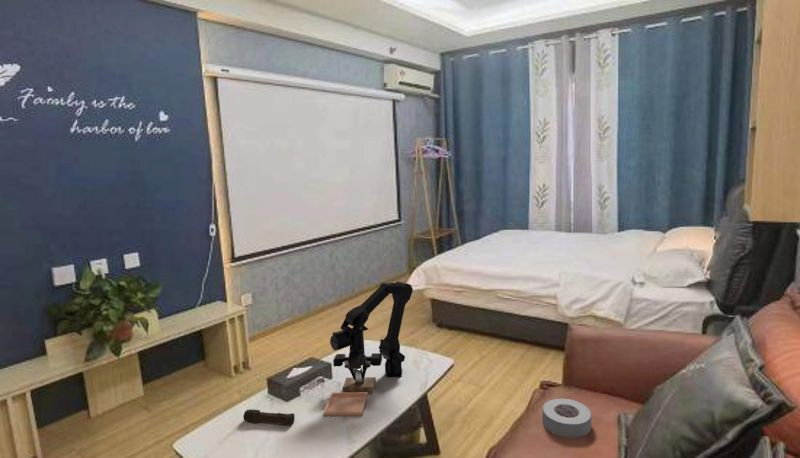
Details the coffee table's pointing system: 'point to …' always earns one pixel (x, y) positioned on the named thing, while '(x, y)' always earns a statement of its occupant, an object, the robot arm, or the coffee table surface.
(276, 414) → the hand tool
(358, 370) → the metal pin
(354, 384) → the clamp block
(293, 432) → the coffee table surface
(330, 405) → the terracotta dish
